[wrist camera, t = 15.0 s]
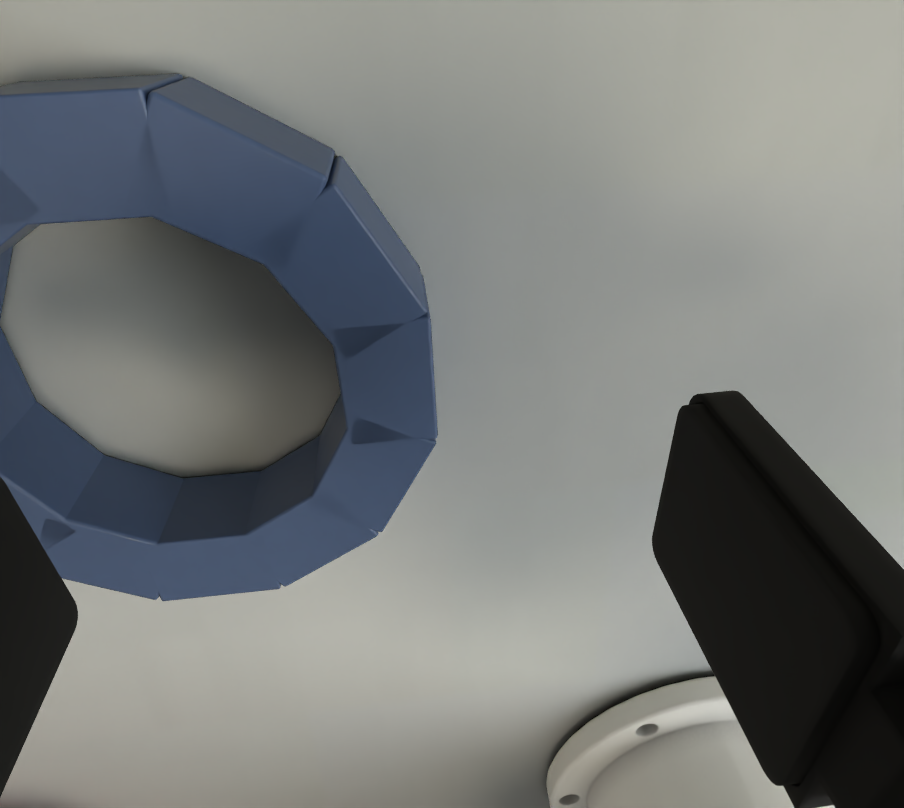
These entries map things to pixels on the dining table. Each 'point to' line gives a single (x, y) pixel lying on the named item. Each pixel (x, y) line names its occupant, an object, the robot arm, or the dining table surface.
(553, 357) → the dining table surface
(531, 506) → the dining table surface
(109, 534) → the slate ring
